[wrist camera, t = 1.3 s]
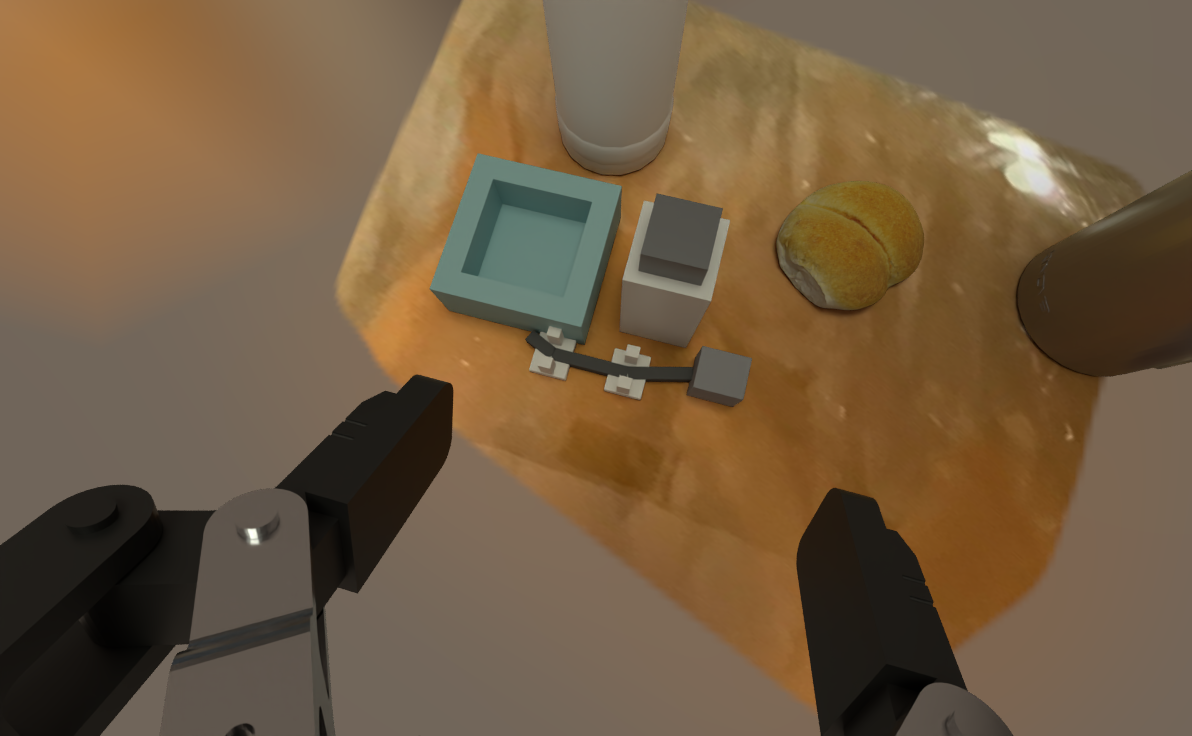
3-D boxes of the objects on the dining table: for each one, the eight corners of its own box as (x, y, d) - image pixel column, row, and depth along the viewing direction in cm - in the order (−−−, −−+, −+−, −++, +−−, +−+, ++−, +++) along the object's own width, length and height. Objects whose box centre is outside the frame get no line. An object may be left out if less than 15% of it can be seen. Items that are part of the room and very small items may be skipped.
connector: (700, 285, 36) (739, 199, 25) (685, 348, 35) (719, 286, 24) (636, 270, 36) (646, 178, 26) (619, 331, 35) (623, 263, 25)
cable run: (740, 368, 35) (752, 358, 32) (729, 423, 34) (739, 417, 31) (535, 316, 36) (529, 302, 33) (519, 368, 35) (511, 358, 32)
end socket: (620, 217, 37) (621, 186, 33) (584, 345, 35) (581, 327, 31) (491, 187, 38) (477, 153, 34) (449, 310, 36) (429, 289, 32)
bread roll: (932, 256, 36) (971, 228, 32) (834, 334, 35) (862, 315, 31) (847, 171, 38) (874, 134, 34) (751, 243, 37) (768, 214, 33)
